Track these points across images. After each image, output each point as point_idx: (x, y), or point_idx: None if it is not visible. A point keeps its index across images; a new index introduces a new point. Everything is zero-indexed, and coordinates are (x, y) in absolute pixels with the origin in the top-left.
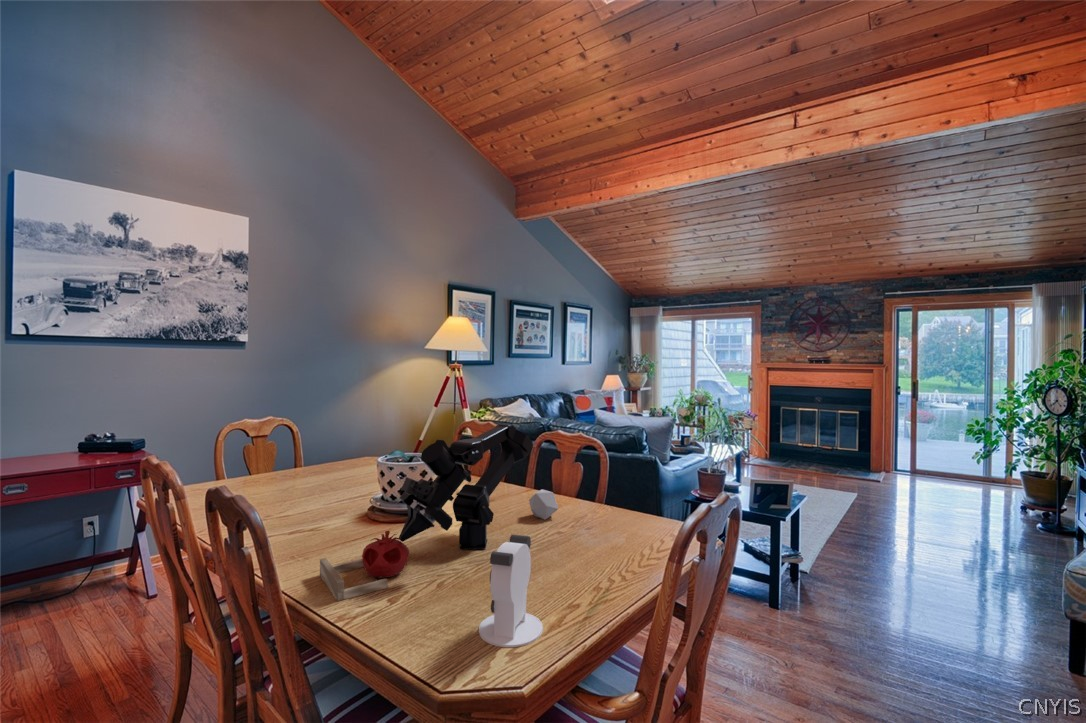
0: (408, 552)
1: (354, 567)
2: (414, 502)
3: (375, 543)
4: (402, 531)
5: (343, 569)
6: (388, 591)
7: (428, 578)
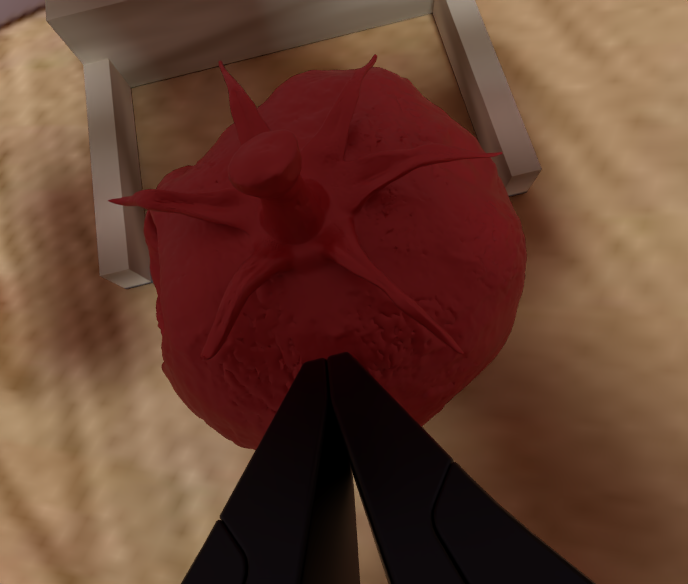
0: None
1: (478, 128)
2: None
3: (312, 115)
4: (351, 402)
5: (459, 73)
6: (81, 289)
7: (128, 558)
